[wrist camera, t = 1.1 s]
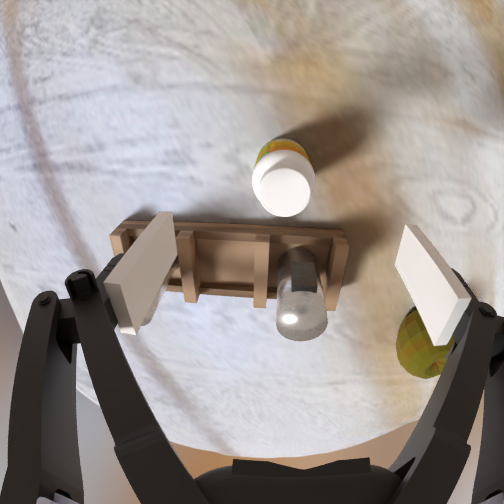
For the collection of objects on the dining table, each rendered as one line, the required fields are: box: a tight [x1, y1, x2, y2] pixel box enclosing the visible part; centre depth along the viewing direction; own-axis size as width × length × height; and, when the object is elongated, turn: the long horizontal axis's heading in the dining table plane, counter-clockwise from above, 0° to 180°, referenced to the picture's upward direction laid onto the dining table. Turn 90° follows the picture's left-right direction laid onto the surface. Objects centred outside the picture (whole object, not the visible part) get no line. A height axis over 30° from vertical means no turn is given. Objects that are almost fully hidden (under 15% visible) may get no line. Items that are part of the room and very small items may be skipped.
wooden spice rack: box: [109, 220, 350, 311], centre depth 35 cm, size 9×27×4 cm, turn 89°
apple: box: [396, 310, 455, 379], centre depth 35 cm, size 10×10×11 cm
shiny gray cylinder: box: [276, 247, 328, 341], centre depth 31 cm, size 5×5×10 cm
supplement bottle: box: [252, 138, 315, 217], centre depth 26 cm, size 5×5×10 cm
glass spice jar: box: [141, 254, 179, 326], centre depth 32 cm, size 5×5×10 cm
